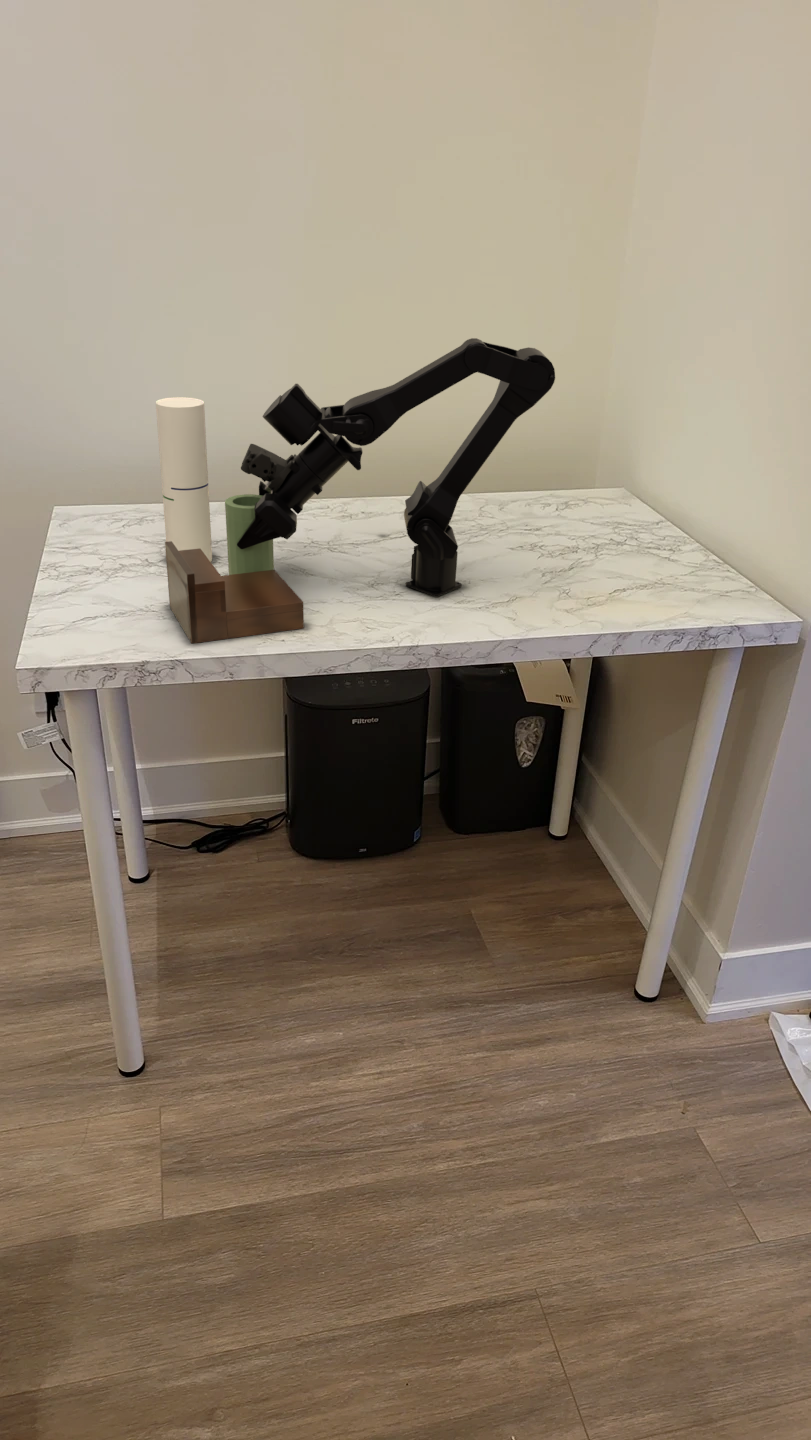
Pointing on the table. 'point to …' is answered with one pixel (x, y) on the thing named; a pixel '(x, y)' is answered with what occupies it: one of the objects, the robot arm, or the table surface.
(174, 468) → the cylindrical container
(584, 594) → the table surface
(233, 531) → the jar
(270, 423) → the robot arm
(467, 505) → the table surface
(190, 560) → the wooden l-shaped bookend
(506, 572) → the table surface
